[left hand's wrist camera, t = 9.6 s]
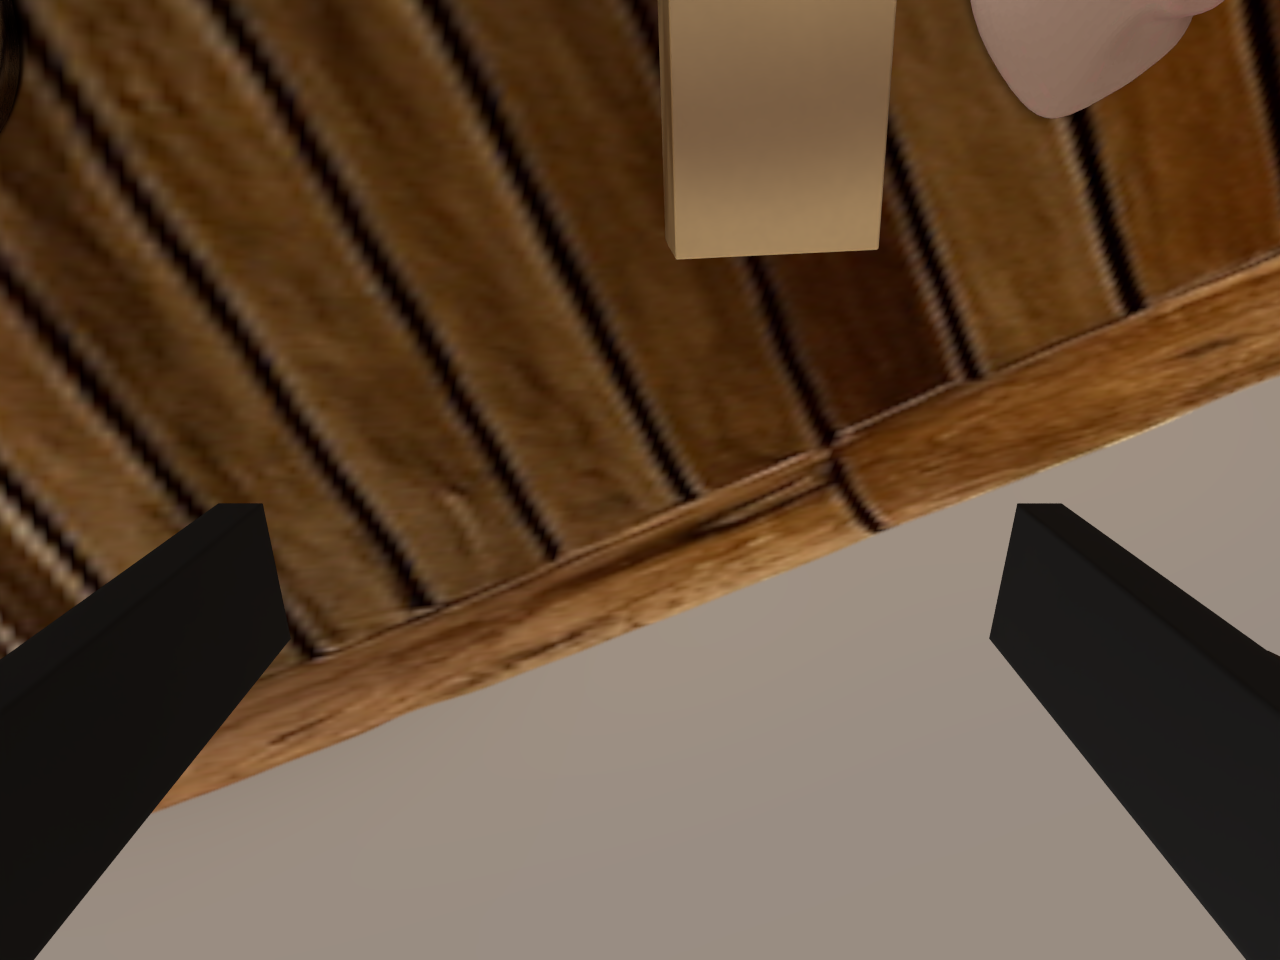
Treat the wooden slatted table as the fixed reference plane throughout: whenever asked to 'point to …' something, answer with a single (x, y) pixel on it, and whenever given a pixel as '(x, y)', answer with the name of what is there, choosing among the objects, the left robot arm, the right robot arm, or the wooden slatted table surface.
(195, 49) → the wooden slatted table surface
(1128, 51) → the anatomical model
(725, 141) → the bar
